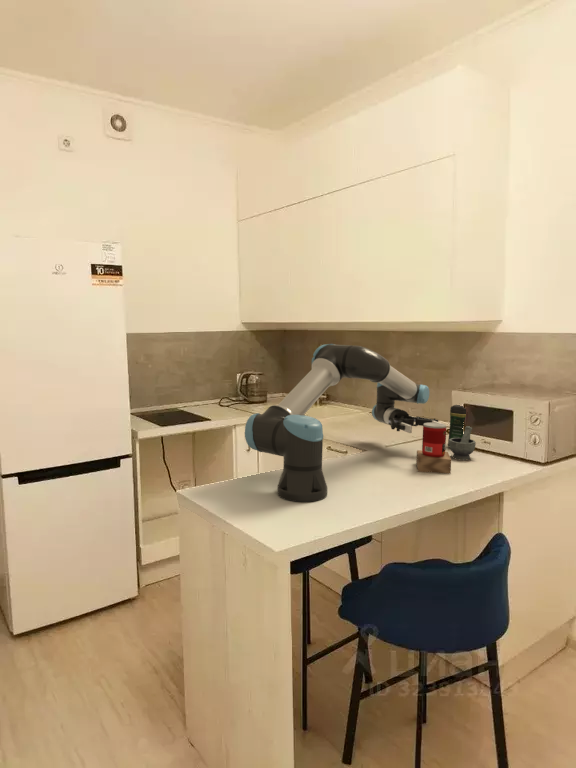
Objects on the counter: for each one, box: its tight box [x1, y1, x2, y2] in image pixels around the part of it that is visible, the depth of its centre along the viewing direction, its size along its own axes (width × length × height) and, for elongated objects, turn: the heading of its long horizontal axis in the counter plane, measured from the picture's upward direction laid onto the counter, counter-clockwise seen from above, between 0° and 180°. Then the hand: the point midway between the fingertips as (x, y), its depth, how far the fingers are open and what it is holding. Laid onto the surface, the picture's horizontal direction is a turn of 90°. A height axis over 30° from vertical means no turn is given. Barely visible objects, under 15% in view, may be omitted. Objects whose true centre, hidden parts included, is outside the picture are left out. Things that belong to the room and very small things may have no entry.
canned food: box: [421, 422, 447, 457], centre depth 193 cm, size 8×8×11 cm
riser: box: [415, 449, 452, 474], centre depth 194 cm, size 11×11×5 cm
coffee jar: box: [447, 404, 466, 448], centre depth 225 cm, size 10×8×19 cm
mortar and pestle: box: [448, 426, 477, 461], centre depth 209 cm, size 11×9×12 cm
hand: (427, 428), depth 198 cm, fingers open, 13 cm apart
